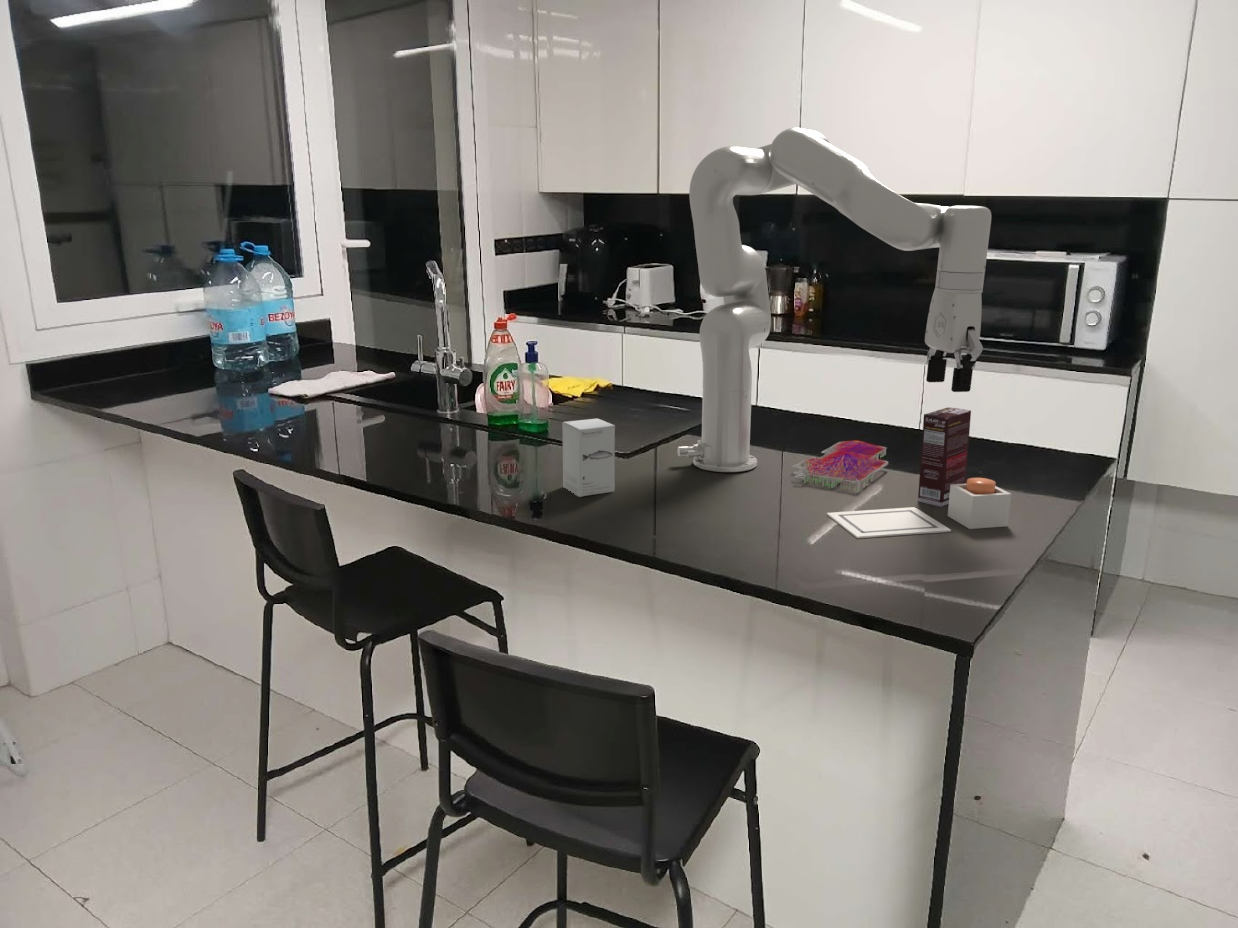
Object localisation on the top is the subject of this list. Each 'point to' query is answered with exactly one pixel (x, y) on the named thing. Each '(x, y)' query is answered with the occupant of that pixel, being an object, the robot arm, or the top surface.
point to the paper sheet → (887, 522)
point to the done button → (980, 486)
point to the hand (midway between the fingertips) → (947, 386)
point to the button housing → (979, 507)
